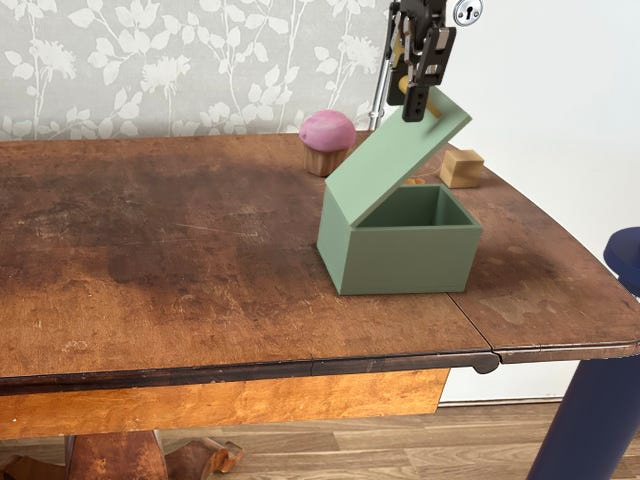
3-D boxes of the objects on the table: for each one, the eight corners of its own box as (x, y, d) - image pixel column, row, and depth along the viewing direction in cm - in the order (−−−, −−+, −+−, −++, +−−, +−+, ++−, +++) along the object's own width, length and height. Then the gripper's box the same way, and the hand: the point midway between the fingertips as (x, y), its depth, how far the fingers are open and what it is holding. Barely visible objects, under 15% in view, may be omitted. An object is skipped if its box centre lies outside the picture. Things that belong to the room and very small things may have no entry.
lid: (431, 83, 84) (404, 54, 82) (473, 119, 74) (444, 87, 72) (328, 184, 91) (301, 160, 89) (353, 229, 81) (324, 203, 79)
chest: (428, 243, 97) (443, 183, 92) (463, 291, 87) (483, 227, 82) (316, 246, 97) (325, 185, 91) (339, 295, 87) (350, 230, 81)
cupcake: (326, 158, 121) (335, 100, 115) (360, 176, 115) (371, 115, 109) (284, 168, 118) (291, 108, 112) (317, 187, 112) (326, 124, 106)
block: (465, 176, 115) (473, 149, 113) (477, 187, 112) (484, 160, 109) (439, 176, 115) (445, 150, 112) (449, 188, 112) (456, 160, 109)
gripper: (504, -52, 63) (460, 133, 74) (446, -72, 75) (415, 91, 85) (422, -49, 63) (389, 137, 74) (376, -69, 75) (353, 94, 85)
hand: (403, 112), depth 79 cm, fingers closed on lid, 5 cm apart
